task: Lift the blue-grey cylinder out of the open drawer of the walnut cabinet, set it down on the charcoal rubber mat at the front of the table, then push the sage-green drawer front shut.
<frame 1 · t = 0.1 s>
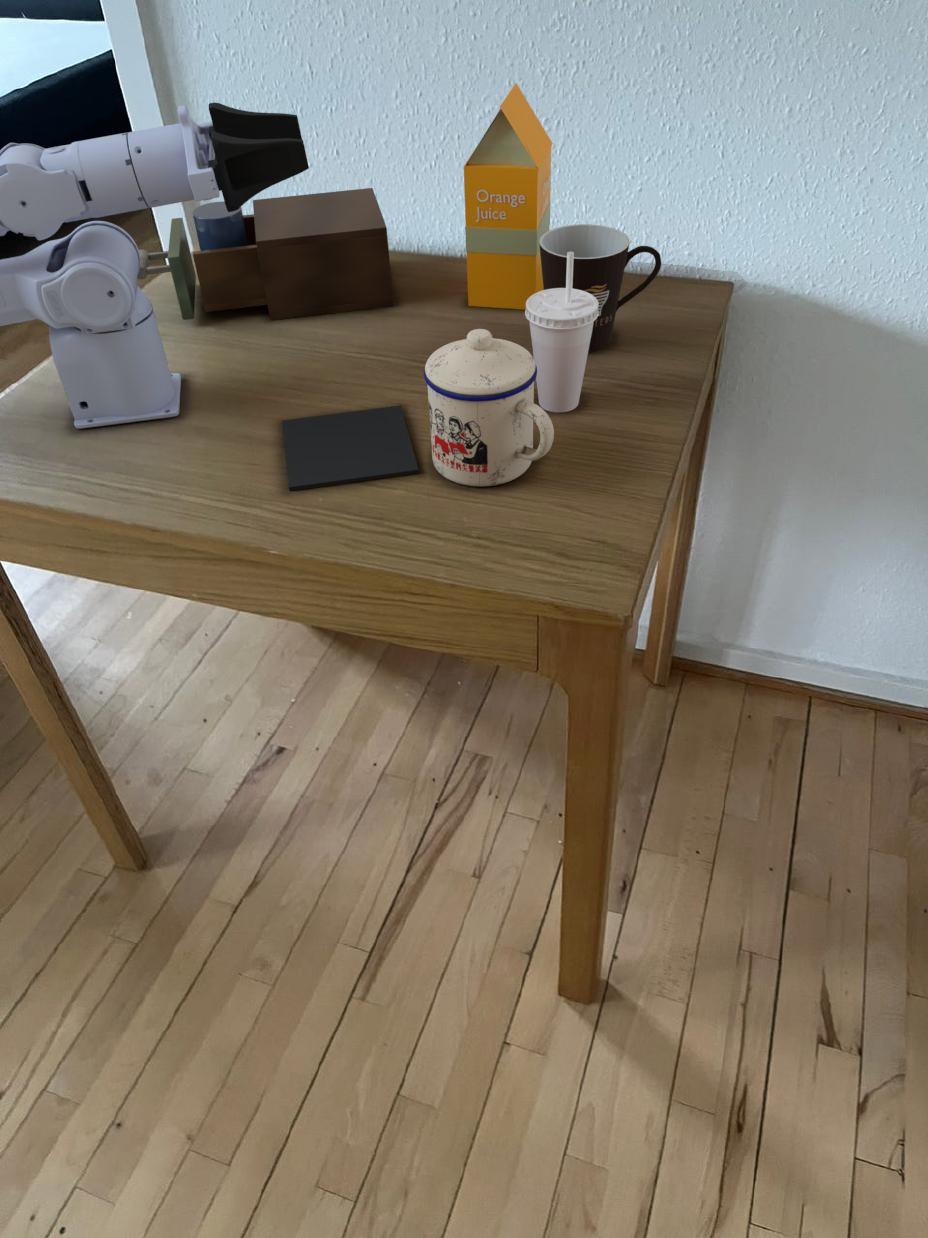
hand: (303, 140, 79), 22 cm above the table, tool horizontal, fingers open, 7 cm apart
teacup with lid: (495, 468, 81), on the table
mat: (348, 447, 84), on the table
smoothie: (558, 404, 89), on the table
orange juice: (509, 292, 107), on the table
blue-grey cylinder: (231, 283, 106), point 2 cm above the table, touching drawer
cabinet: (327, 289, 109), on the table
drawer: (214, 264, 105), point 4 cm above the table, slide at 8.0 cm, touching blue-grey cylinder
coffee mug: (593, 341, 98), on the table
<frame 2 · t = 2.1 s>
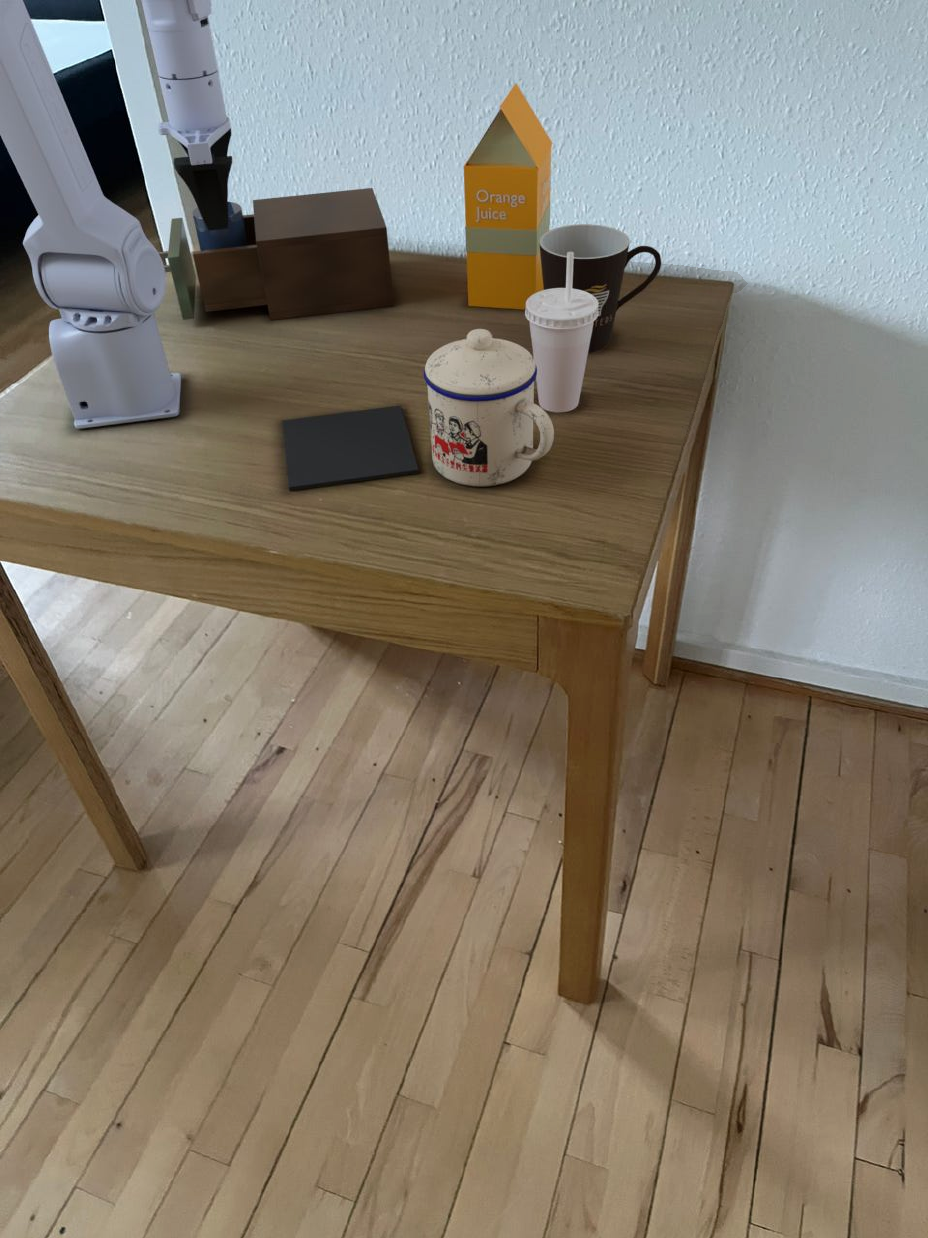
hand: (218, 215, 101), 9 cm above the table, tool pointing down, fingers open, 7 cm apart
nothing on the table moved.
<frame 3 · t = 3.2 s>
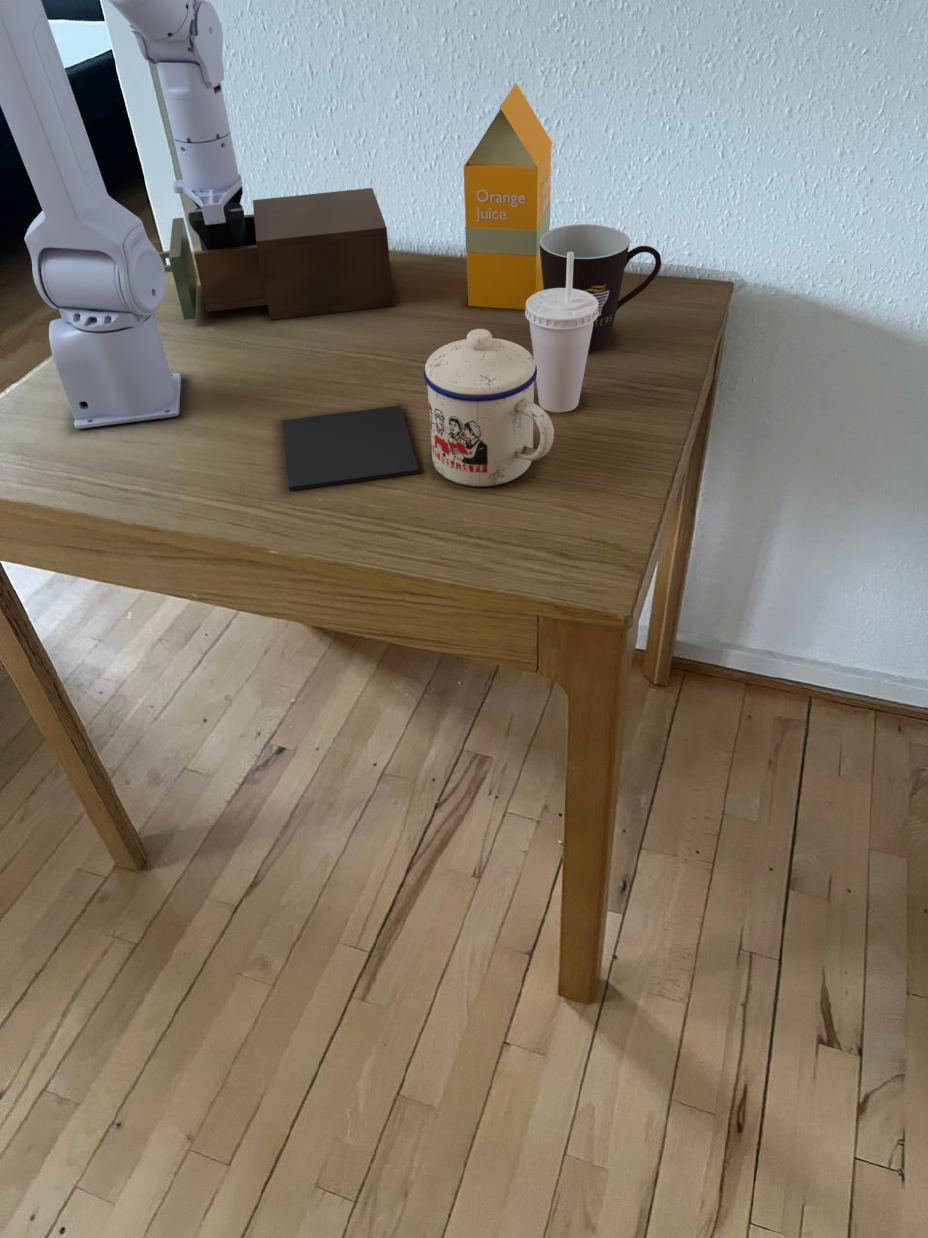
hand: (230, 266, 105), 4 cm above the table, tool pointing down, fingers closed on blue-grey cylinder, drawer, 5 cm apart
blue-grey cylinder: (233, 282, 107), point 2 cm above the table, touching drawer, gripper
drawer: (216, 264, 105), point 4 cm above the table, slide at 7.9 cm, touching blue-grey cylinder, gripper
everything else where it was.
when the fingers open (2 cm above the table, at t = 9.7 s): blue-grey cylinder stays where it is, resting on mat.
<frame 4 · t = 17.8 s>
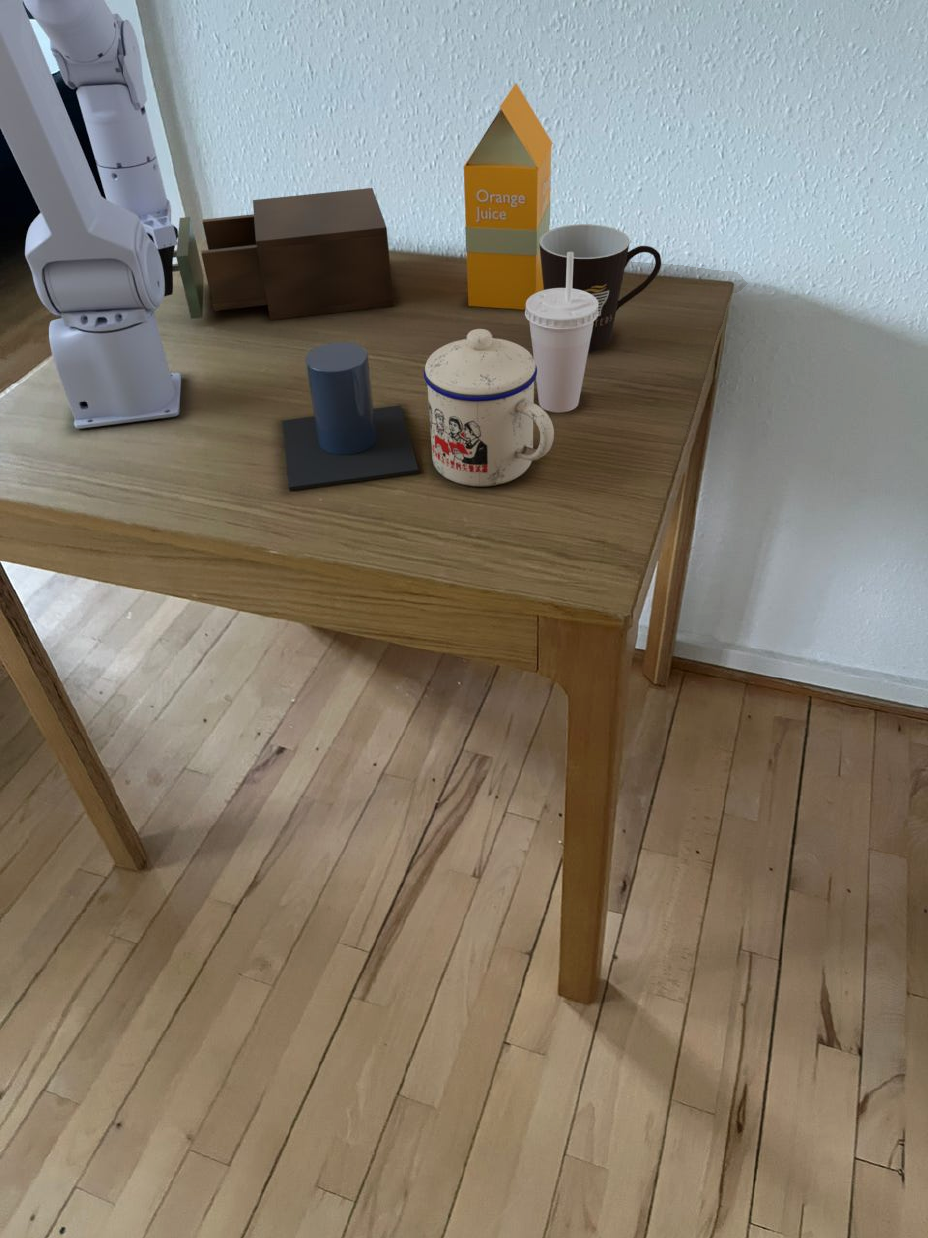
hand: (161, 294, 101), 3 cm above the table, tool pointing down, fingers closed
blue-grey cylinder: (347, 439, 84), resting on mat
drawer: (222, 263, 105), point 4 cm above the table, slide at 7.1 cm, touching gripper
everything else where it was.
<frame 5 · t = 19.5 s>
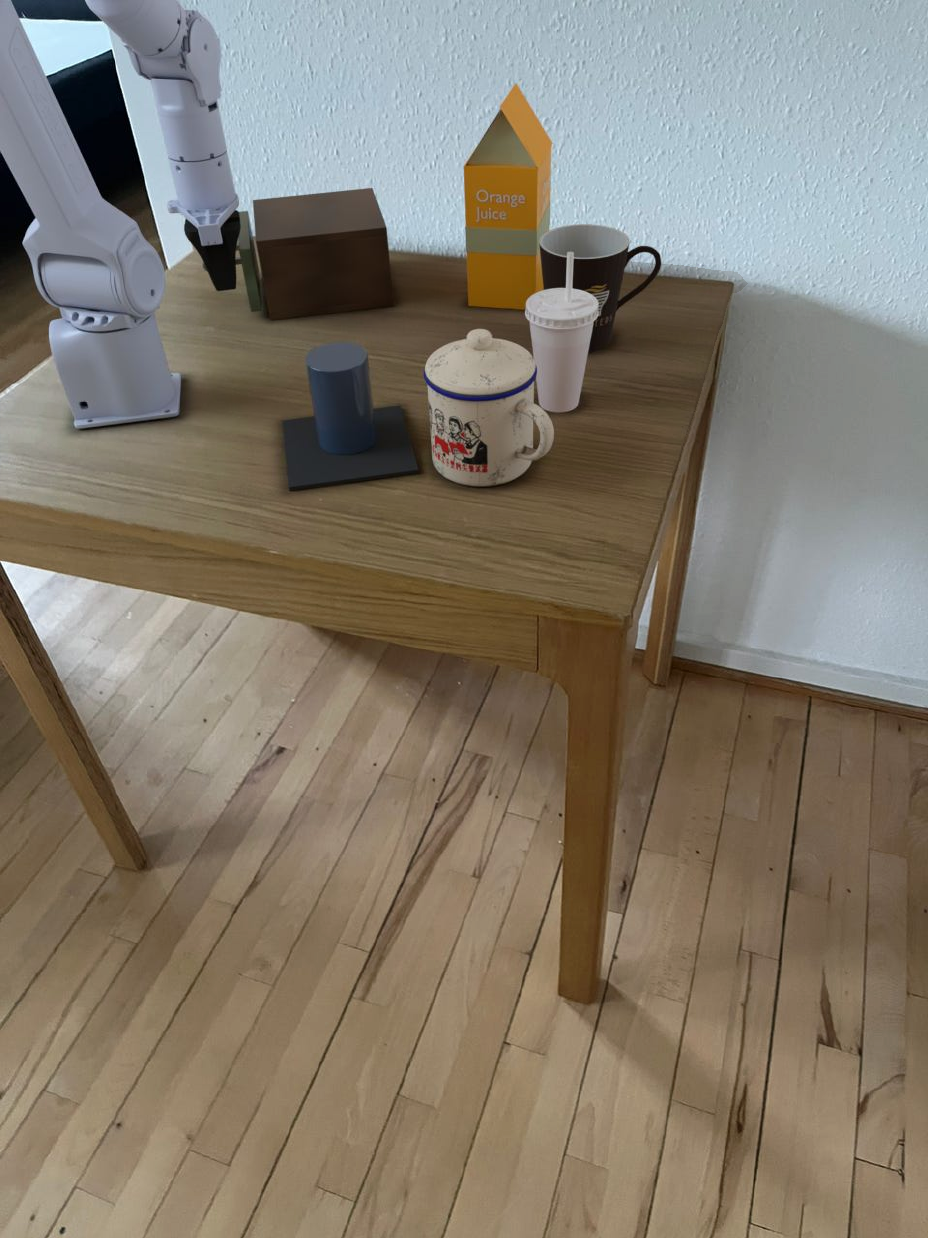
hand: (226, 287, 102), 3 cm above the table, tool pointing down, fingers closed, pressing on drawer
drawer: (281, 256, 106), point 4 cm above the table, slide at 0.7 cm, touching gripper
everything else where it was.
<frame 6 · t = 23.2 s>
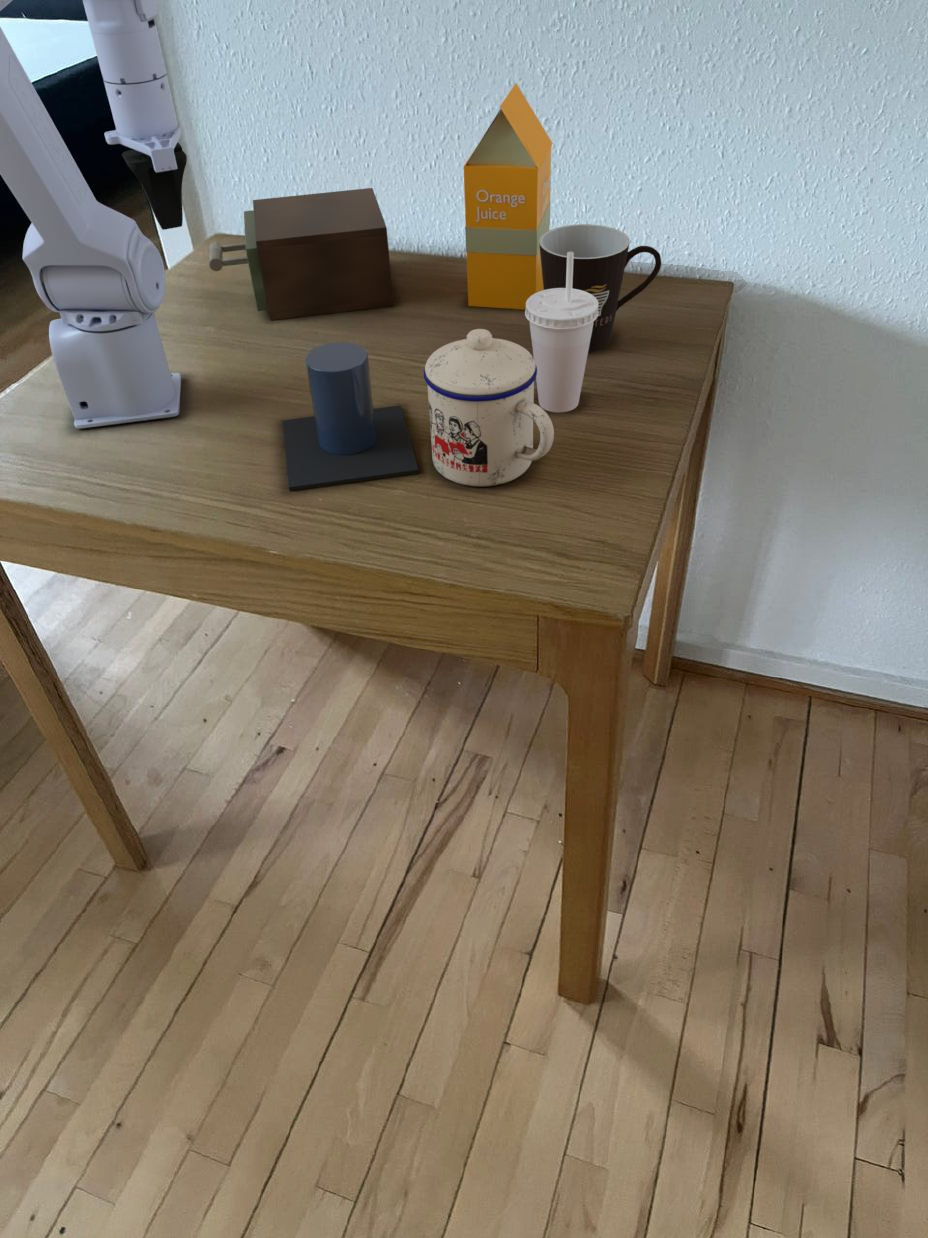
hand: (171, 225, 97), 10 cm above the table, tool pointing down, fingers closed
drawer: (287, 256, 106), point 4 cm above the table, slide at 0.0 cm
everything else where it was.
at the end: blue-grey cylinder inside the target area on the mat (0.7 cm from its centre), point 0.4 cm above the mat's base; blue-grey cylinder tilted 0°; drawer slide at 0.0 cm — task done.
